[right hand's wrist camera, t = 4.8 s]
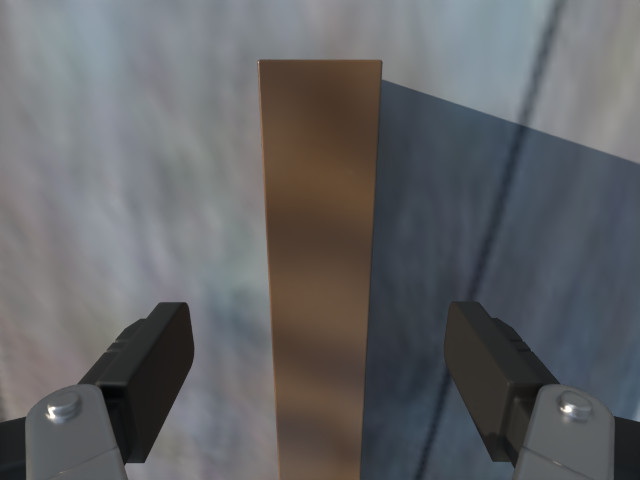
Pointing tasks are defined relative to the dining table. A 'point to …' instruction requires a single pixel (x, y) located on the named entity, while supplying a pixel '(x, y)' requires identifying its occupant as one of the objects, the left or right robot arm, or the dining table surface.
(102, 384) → the right robot arm
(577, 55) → the dining table surface
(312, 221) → the post
